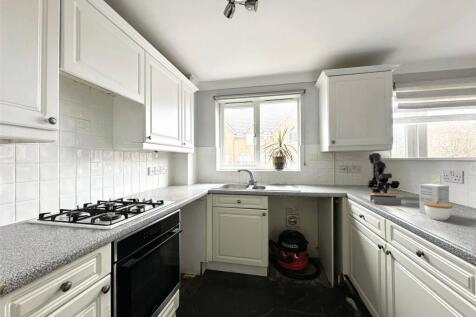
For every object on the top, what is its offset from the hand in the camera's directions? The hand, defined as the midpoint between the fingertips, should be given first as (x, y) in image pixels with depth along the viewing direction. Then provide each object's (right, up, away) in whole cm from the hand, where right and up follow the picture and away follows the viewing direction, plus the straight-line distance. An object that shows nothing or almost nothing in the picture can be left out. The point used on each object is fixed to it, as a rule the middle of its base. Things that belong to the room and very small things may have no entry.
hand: (386, 193), depth 142 cm
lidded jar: (+2, -7, -34) cm, 35 cm away
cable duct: (+1, -7, +2) cm, 8 cm away
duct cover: (+1, -1, +2) cm, 3 cm away
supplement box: (+9, -7, -25) cm, 28 cm away
